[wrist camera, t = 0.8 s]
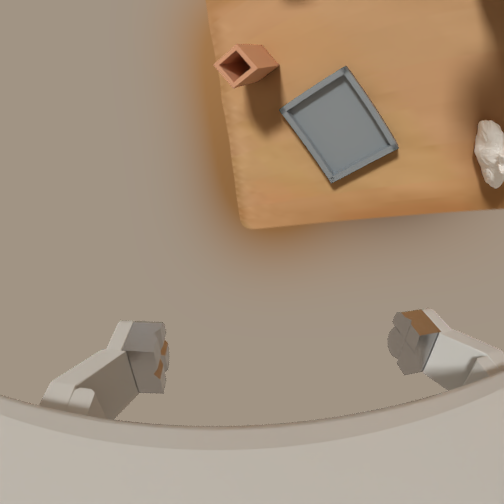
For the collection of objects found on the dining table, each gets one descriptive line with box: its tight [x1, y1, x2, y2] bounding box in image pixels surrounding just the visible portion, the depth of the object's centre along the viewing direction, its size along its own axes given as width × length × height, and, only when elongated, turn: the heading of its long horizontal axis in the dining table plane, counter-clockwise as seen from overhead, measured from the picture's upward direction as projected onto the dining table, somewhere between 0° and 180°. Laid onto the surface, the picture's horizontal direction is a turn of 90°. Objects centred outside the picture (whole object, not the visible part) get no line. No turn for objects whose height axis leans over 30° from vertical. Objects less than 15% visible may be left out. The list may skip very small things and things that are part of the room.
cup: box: [214, 44, 280, 88], centre depth 43 cm, size 5×5×11 cm
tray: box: [279, 66, 399, 183], centre depth 48 cm, size 14×16×2 cm
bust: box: [474, 120, 504, 189], centre depth 36 cm, size 12×8×11 cm
